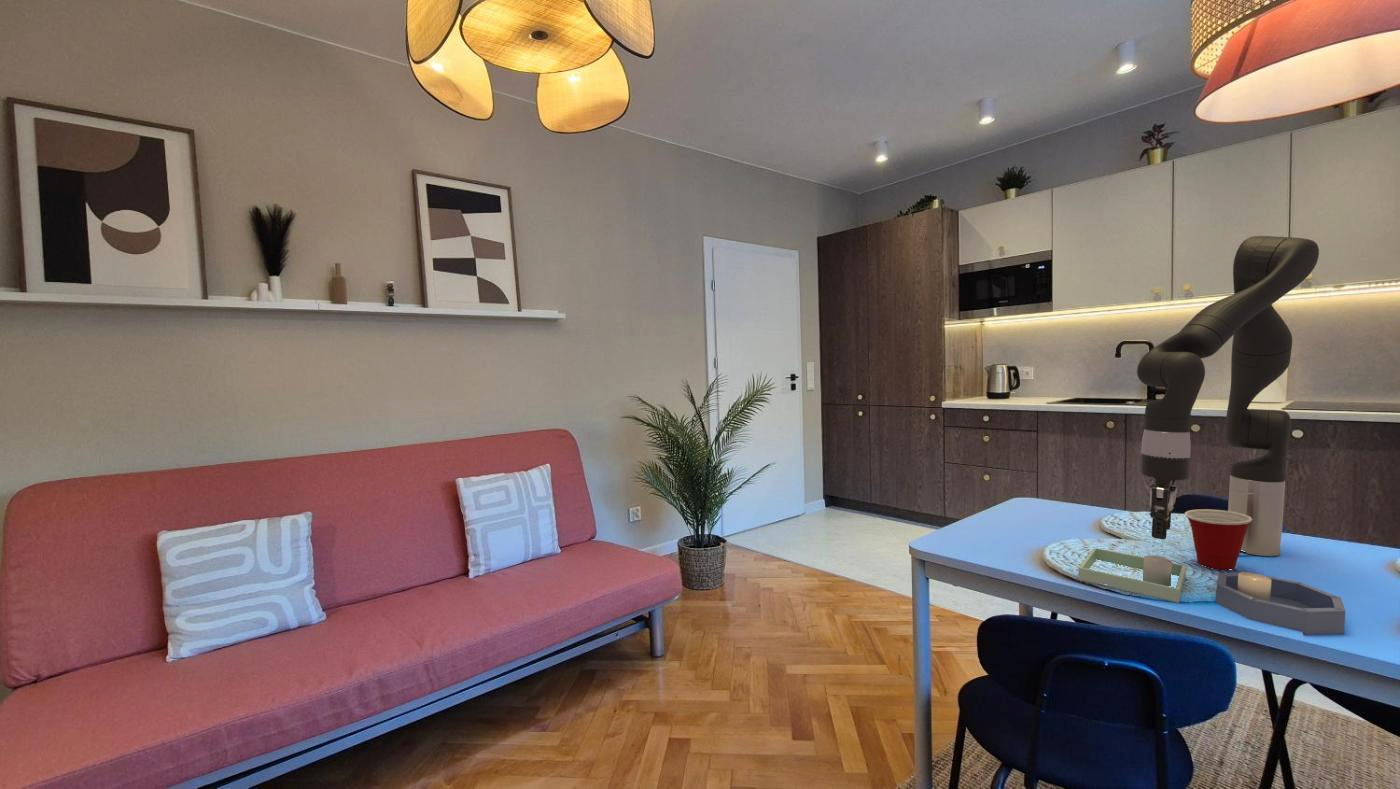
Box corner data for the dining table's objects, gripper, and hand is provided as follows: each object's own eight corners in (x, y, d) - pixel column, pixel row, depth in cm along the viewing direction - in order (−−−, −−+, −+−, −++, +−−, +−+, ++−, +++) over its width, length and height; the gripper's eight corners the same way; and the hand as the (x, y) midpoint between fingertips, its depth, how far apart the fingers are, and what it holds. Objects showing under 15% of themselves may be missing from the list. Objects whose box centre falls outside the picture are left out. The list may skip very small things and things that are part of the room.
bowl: (1218, 586, 115) (1219, 566, 115) (1336, 610, 104) (1338, 589, 104) (1214, 613, 104) (1215, 592, 103) (1347, 644, 93) (1349, 620, 92)
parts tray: (1093, 560, 130) (1093, 547, 129) (1185, 579, 119) (1186, 565, 118) (1077, 581, 118) (1078, 567, 118) (1178, 605, 107) (1179, 589, 107)
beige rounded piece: (1144, 577, 119) (1145, 554, 118) (1171, 583, 116) (1172, 559, 115) (1141, 584, 115) (1142, 560, 115) (1169, 590, 112) (1170, 565, 112)
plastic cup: (1175, 555, 132) (1177, 504, 131) (1236, 563, 127) (1240, 510, 126) (1190, 572, 122) (1193, 517, 121) (1257, 581, 117) (1261, 524, 116)
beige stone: (1237, 596, 109) (1238, 570, 108) (1269, 602, 106) (1271, 576, 105) (1236, 603, 106) (1237, 577, 105) (1269, 610, 103) (1271, 583, 102)
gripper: (1187, 460, 105) (1182, 546, 106) (1192, 450, 116) (1188, 529, 117) (1136, 455, 110) (1132, 537, 112) (1145, 446, 121) (1141, 521, 122)
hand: (1161, 533), depth 114 cm, fingers open, 8 cm apart
